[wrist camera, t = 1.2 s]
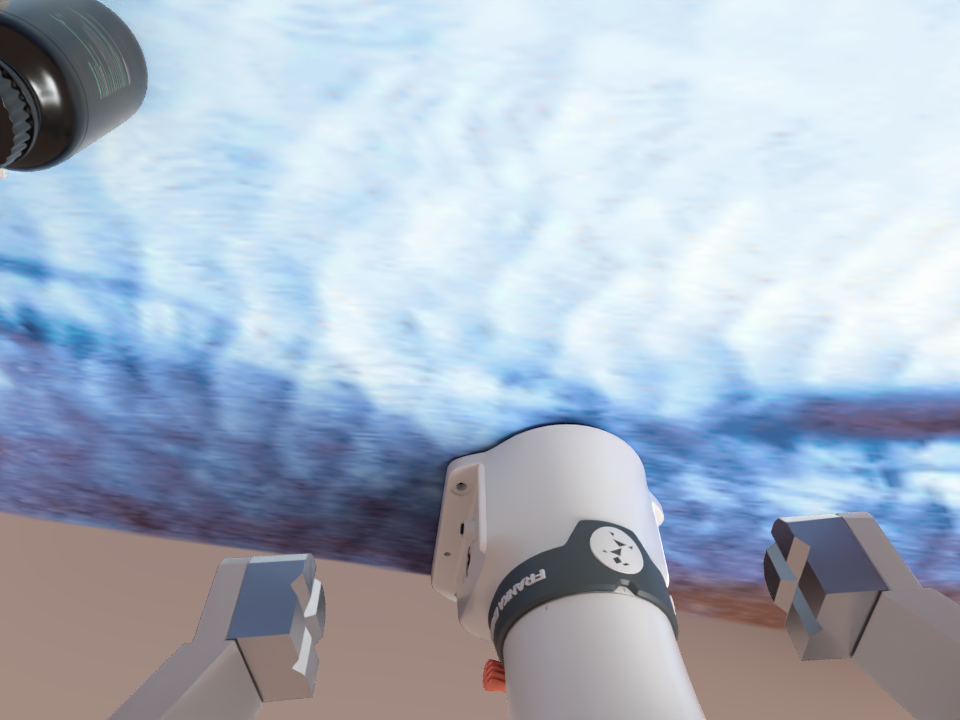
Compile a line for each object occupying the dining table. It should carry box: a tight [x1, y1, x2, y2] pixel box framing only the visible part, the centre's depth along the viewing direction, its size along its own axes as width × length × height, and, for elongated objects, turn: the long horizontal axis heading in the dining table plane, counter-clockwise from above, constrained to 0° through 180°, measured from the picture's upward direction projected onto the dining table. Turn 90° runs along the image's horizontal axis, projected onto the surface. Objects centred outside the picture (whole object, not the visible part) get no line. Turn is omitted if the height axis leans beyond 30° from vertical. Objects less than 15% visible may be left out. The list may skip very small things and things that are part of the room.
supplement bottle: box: [0, 0, 148, 172], centre depth 31 cm, size 7×7×12 cm
